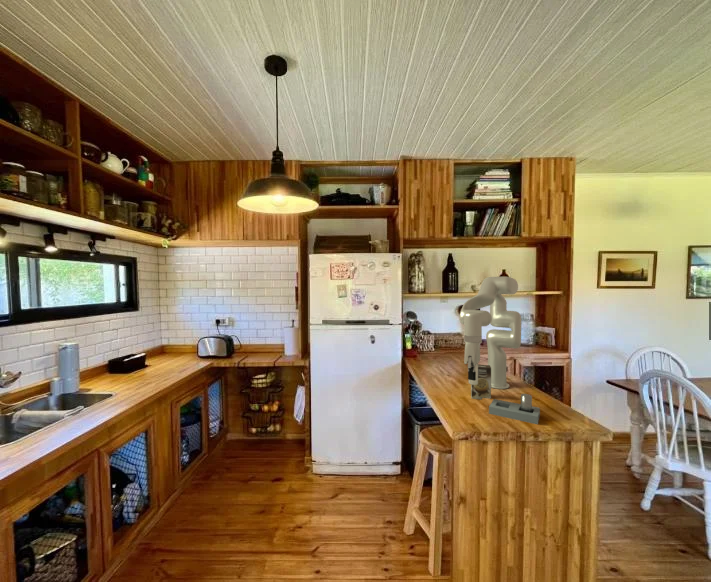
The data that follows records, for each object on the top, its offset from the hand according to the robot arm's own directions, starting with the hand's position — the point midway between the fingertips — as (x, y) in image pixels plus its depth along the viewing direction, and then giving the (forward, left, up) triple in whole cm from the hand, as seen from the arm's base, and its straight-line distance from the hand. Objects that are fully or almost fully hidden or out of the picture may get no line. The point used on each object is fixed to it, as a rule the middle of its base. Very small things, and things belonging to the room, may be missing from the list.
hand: (473, 378), depth 139 cm
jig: (0, +17, -13) cm, 22 cm away
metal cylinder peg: (0, +21, -12) cm, 25 cm away
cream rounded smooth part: (0, 0, -2) cm, 2 cm away
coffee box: (-15, 0, -14) cm, 21 cm away
